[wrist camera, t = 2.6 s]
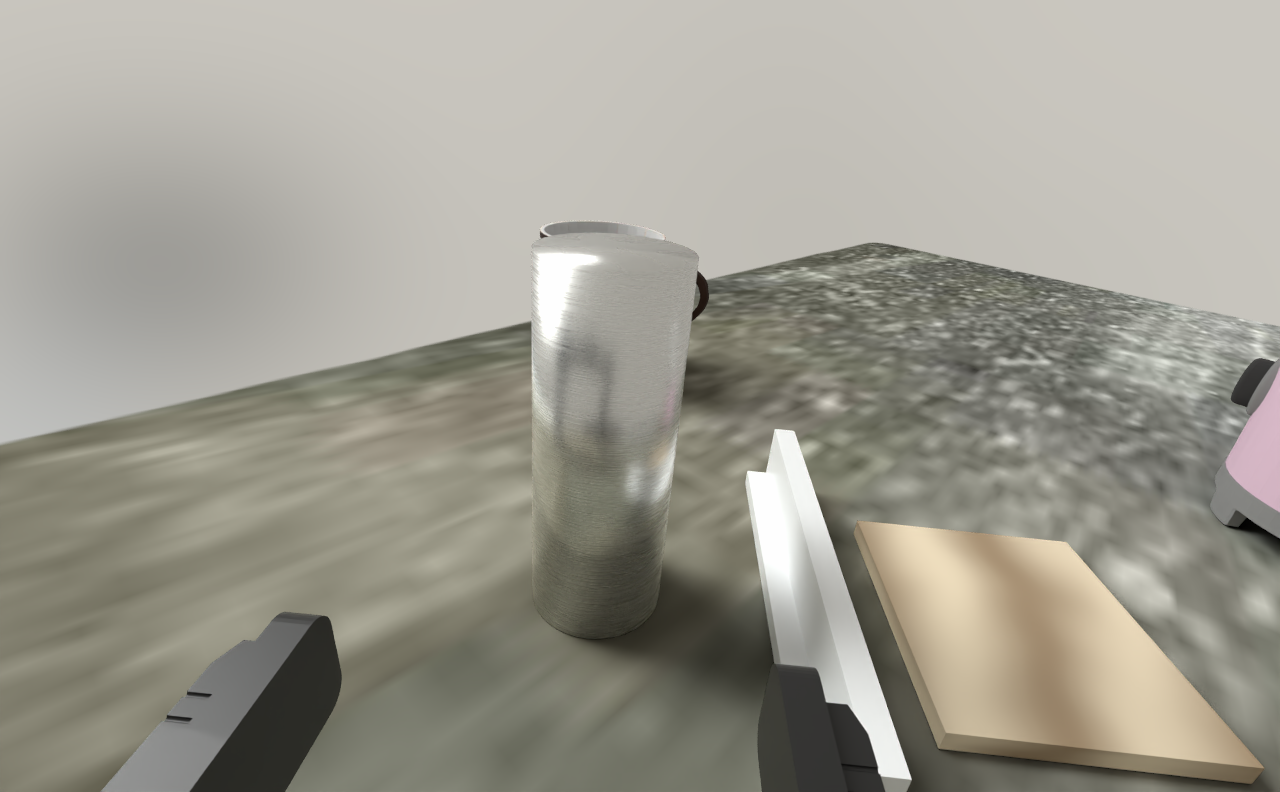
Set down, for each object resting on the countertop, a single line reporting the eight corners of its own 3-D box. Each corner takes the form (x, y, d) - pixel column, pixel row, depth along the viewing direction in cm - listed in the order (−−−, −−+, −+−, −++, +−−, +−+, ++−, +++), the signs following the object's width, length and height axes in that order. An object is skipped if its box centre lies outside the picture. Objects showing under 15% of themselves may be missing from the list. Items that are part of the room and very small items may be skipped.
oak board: (938, 748, 20) (946, 732, 19) (853, 533, 30) (857, 520, 29) (1251, 784, 19) (1264, 768, 19) (1060, 555, 29) (1066, 542, 29)
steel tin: (518, 631, 23) (512, 261, 17) (546, 541, 27) (550, 227, 21) (656, 646, 23) (700, 279, 16) (661, 553, 27) (697, 241, 21)
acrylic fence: (804, 849, 17) (831, 770, 15) (745, 483, 33) (755, 427, 31) (913, 862, 17) (951, 784, 15) (800, 488, 33) (813, 432, 31)
